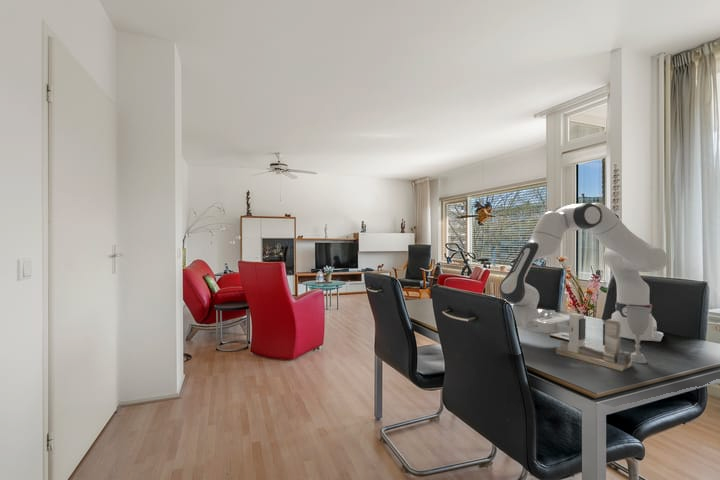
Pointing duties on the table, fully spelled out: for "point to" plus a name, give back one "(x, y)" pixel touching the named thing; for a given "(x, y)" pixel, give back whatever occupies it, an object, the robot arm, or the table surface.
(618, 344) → the wooden stand
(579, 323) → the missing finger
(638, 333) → the chalice
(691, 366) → the table surface
